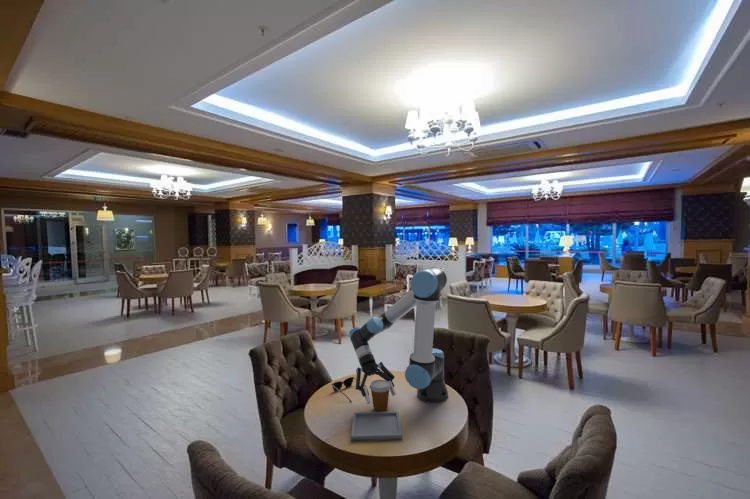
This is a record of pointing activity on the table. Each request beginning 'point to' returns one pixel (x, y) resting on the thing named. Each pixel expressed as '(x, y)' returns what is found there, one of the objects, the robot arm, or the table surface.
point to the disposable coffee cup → (380, 394)
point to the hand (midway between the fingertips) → (382, 398)
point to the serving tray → (376, 426)
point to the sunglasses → (346, 382)
